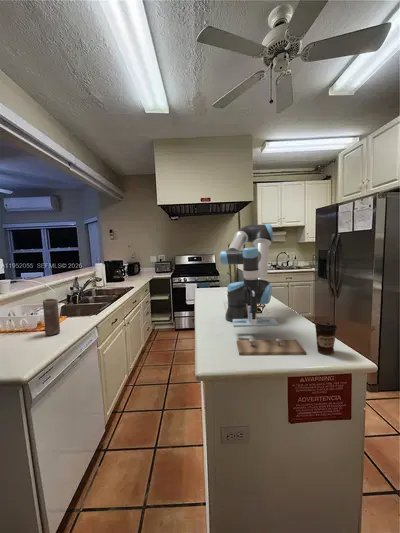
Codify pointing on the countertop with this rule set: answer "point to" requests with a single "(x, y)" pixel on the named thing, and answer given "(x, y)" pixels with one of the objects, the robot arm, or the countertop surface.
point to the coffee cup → (325, 336)
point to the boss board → (269, 347)
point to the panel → (259, 321)
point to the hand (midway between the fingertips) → (252, 321)
